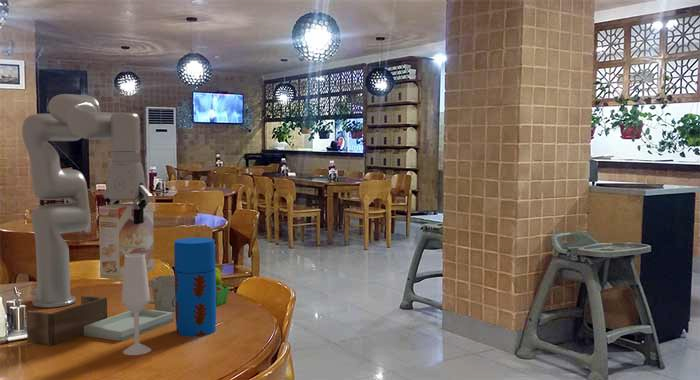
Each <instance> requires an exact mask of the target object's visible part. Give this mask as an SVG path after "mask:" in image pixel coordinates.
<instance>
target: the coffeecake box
mask: <svg viewBox="0 0 700 380" xmlns="http://www.w3.org/2000/svg"><path fill="white" fill-rule="evenodd" d="M138 203H139V202H138ZM135 209H136V208H135V206H134V204H133V202H132V201H128V202H120V204H113V205H109V204H107V205H99V206H98V226H99V227H98V228H99V229H98V231H99V276H100V277H99V278H100V279H109V280H115V281H117V280H118V281H123V274H124V260H125V255H127V254H145V260H146V268H147V273H149V272H151V271H154V270H155V236H154V235H155V233H154V232H155V231H154V230H155V229H154V227H155V226H154V202H152V201H149V202H148V204H147V205H146V208H145V209H143V211H144V222H143V223H141V224H134V210H135Z"/></svg>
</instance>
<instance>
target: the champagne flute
mask: <svg viewBox="0 0 700 380" xmlns="http://www.w3.org/2000/svg"><path fill="white" fill-rule="evenodd" d="M148 277H149V276H148V272H147V268H146V260H145V254H127V255H125V260H124V274H123V279H122V287H121V289H122V290H121V303H122V304H123V305H124V307H125V308H126V309H127V310H128V311H131V312H133V313H134V337H133V338H134V343H133V344H131V345H130V346H129V347H127V348H125V349H124V350H123V351H122V353H123V354H124V355H127V356H128V355H129V356H139V355H144V354H147V353H149V352H151V351H152V348H150V347H149V346H147V345H144V344H142V343H140V334H139V312H140V311H141V310H142V309H145V307H147V305H149V303H148V302H149V300H150V301H151V295H150V286H149V285H148V282H149V278H148Z"/></svg>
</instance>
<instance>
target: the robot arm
mask: <svg viewBox="0 0 700 380" xmlns="http://www.w3.org/2000/svg"><path fill="white" fill-rule="evenodd" d="M47 108H48V109H47V110H48V112H49V113H34V114H31V115H29V116H27V117H25V119H24V120H23V123H22V128H21V134H22V139H23V144H24V146H25V149H26V151H27V154H28V156H29V162H30V170H31V171H30V172H31V180H32V182H31V183H32V189H33V192H34V196H35V197H36V199H38V200H39V201H40V200H42V201H56V200H57V201H59V200H68V202H67V203H52V204H45V205H40V206H38V207H36V208H35V209H34V210H33V211H32V213H31V226H32V229H33V233H34V240H35V254H36V281H37V282H36V285H37V287H35V288H34V290H31V292H30V295H32V296H35V299H34V300H32V306H34V307H36V308H46V309H47V308H59V307H64V306H69V305H72V304H74V303H75V302H76V301H77V298H76V296H74V295H71V274H70V271H71V270H70V249H69V245H68V243H67V242H66V240H65V239H64V238H63V237H62V234H67V233H68V234H69V233H76V232H83V231H86V230H87V229H88V228H89V226H90V223H91V210H90V209H91V208H90V201H89V192H88V185H87V181H86V178H85V175H84V174H83V173H82V172H81V171H79V170H77V169H73V168H72V169H71V168H70V169H62V168H61V160H60V155H59V152H58V151H57V150H56V148H54V146H53V145H52V144H51V143H49V142H75V141H80V140H81V139H85V140H110V151H111V153H110V154H109V158H110V159H111V162H110V163H108V166H107V167H108V168H107V175H106V188H105V189H104V191H103V192H102V196H103V198H104V199H105V201H106V203H107V205H113V204H120V203H122V201H131V202H133V204H134V206H135V208H136V209H135V210H134V224H141V223H143V222H144V211H143V209H145V208H146V205H147V204H148V202H150V200H151V198H152V197H153V195H152V193H151V192H150V191H149V190H148V189H147V188H146V181H145V171H144V167H143V163H141V162H142V161H141V131H140V130H141V124H140V123H141V121H140V116H139V115H138V114H137V113H136V112H135V113H134V112H110V111H108V112H107V111H101V106H100V103H99V102H98V100H97V99H96V98H95V97H94V96H91V95H88V94H86V95H85V94H77V93H75V94H73V93H72V94H70V93H62V94H57V95H55V96H53V97H51V99H50V100H49V101H48V107H47ZM138 202H139V203H138Z"/></svg>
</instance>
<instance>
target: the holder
mask: <svg viewBox="0 0 700 380" xmlns="http://www.w3.org/2000/svg"><path fill="white" fill-rule="evenodd" d="M80 302H81V303H80V304H78V305H75V306H71V307H68V308H65V309H62V310H58V311H55V312H51V313H50V312H49V313H48V312H42V311H36V310H35V311H34V310H26V311H25V312H26V313H25V315H26V336H27V337H26V338H27V340H26V341H27V343H32V344H38V345H45V346H50V347H52V346H55V345H58V344H60V343H61V344H62V343H64V342H67V341H70V340H73V339H75V338H76V339H77V338H78V337H80V336H85V335H84V326H85V325H88V324H91V323H94V322H97V321H100V320H103V319H106V318H108V304H107V303H108V298H107V297H101V296H92V295H80Z"/></svg>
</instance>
